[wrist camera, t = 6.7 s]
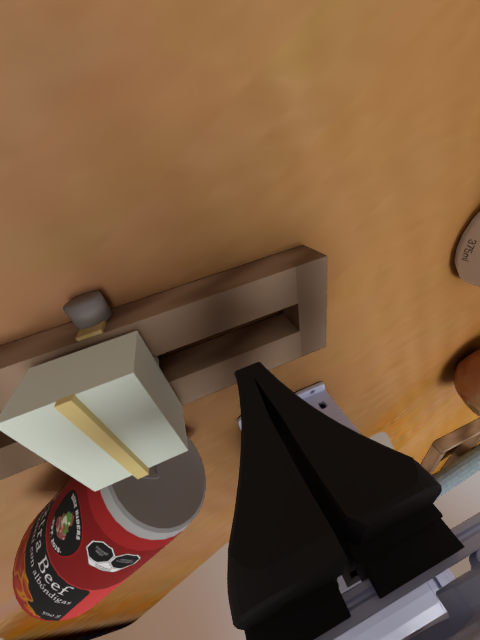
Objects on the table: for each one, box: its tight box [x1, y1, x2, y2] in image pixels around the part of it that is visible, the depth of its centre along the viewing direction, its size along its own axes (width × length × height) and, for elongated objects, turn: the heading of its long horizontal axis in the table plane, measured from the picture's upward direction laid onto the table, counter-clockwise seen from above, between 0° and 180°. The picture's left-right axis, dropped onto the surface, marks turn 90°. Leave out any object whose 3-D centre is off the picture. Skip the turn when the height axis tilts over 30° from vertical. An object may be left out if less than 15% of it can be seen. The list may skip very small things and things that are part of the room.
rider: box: [0, 331, 188, 491], centre depth 12 cm, size 5×6×6 cm
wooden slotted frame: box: [0, 245, 327, 480], centre depth 14 cm, size 26×10×2 cm, turn 102°
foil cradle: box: [421, 418, 480, 476], centre depth 56 cm, size 12×28×2 cm, turn 12°
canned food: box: [13, 435, 206, 621], centre depth 17 cm, size 8×8×11 cm
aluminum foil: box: [433, 444, 480, 498], centre depth 54 cm, size 23×7×3 cm, turn 130°
